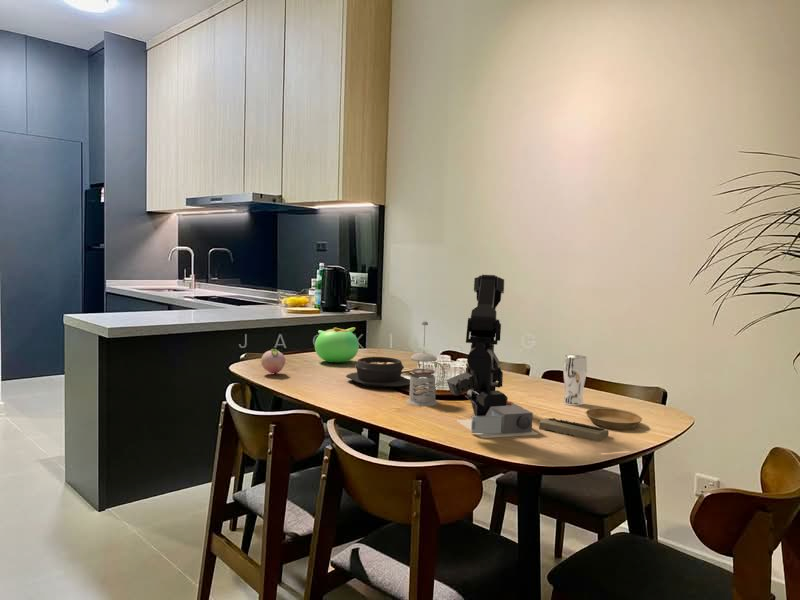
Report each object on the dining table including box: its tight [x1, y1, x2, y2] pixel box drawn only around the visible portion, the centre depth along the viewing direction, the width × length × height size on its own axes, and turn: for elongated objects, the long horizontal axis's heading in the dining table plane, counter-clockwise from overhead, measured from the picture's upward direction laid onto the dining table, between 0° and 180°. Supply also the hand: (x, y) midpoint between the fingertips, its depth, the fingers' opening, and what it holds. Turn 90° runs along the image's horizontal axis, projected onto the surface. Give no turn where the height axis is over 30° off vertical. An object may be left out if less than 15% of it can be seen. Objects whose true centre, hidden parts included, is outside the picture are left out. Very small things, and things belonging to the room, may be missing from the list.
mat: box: [456, 418, 539, 439], centre depth 156 cm, size 16×16×1 cm
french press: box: [405, 320, 446, 407], centre depth 180 cm, size 10×12×25 cm
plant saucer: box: [585, 407, 643, 430], centre depth 164 cm, size 15×15×3 cm
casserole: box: [345, 356, 410, 388], centre depth 204 cm, size 25×19×8 cm
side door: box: [470, 415, 504, 434], centre depth 148 cm, size 8×2×4 cm, turn 99°
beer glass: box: [562, 354, 588, 407], centre depth 185 cm, size 7×7×15 cm
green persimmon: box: [314, 326, 360, 364], centre depth 243 cm, size 18×17×15 cm
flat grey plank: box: [538, 417, 609, 443], centre depth 153 cm, size 16×8×3 cm, turn 53°
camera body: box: [486, 400, 533, 434], centre depth 156 cm, size 13×8×6 cm, turn 18°
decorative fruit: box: [260, 347, 286, 374], centre depth 214 cm, size 9×8×10 cm
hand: (478, 424), depth 150 cm, fingers closed
